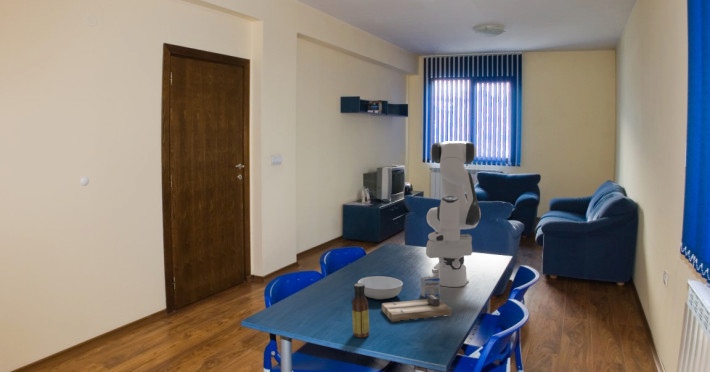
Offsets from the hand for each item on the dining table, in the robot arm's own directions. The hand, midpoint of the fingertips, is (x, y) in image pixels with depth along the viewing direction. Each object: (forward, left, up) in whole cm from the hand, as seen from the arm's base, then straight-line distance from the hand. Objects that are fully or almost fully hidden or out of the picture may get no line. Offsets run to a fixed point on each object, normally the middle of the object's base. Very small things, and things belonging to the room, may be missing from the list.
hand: (449, 266), depth 222 cm
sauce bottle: (+17, -44, -19) cm, 51 cm away
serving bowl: (-25, -23, -19) cm, 39 cm away
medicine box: (-20, 0, -19) cm, 28 cm away
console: (0, -15, -19) cm, 24 cm away
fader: (0, -7, -16) cm, 17 cm away
